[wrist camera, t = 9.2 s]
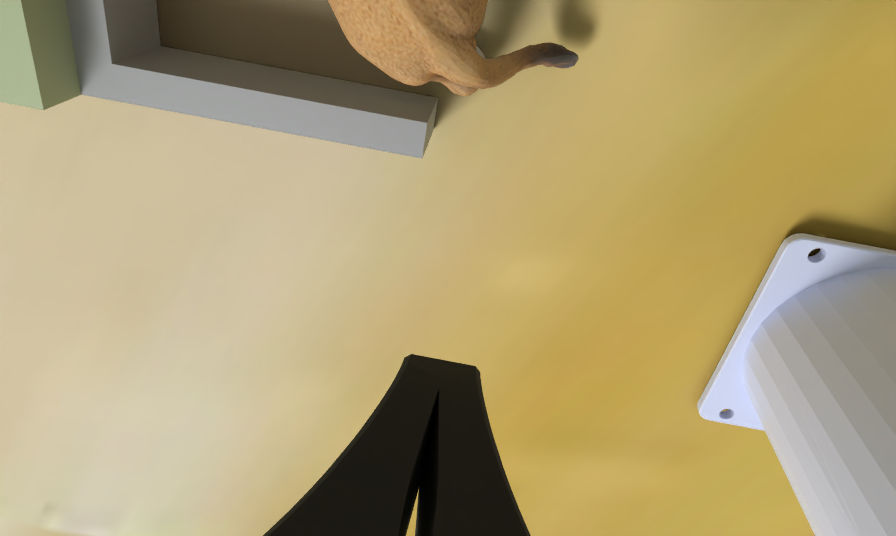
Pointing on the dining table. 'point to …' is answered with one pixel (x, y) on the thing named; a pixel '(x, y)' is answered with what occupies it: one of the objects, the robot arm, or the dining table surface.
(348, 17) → the lion figurine
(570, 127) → the dining table surface
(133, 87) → the l-rail base plate
